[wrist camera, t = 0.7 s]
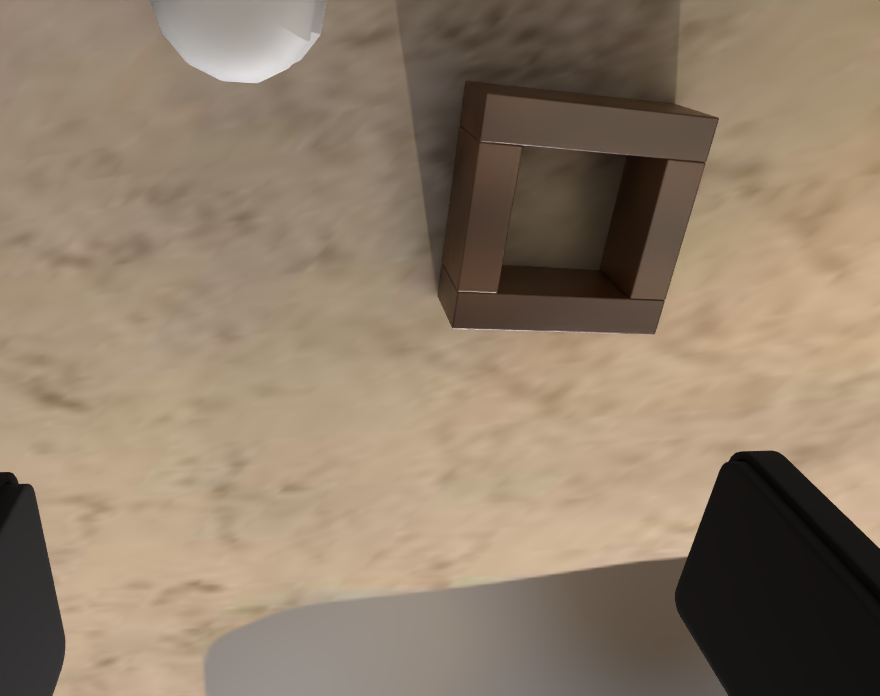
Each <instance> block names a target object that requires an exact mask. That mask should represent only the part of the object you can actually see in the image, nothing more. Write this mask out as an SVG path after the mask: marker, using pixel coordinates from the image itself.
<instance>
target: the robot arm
mask: <svg viewBox="0 0 880 696" xmlns="http://www.w3.org/2000/svg"><path fill="white" fill-rule="evenodd" d="M675 602H676V607H677V610H678V613H679V615H680V617H681V618H682V620H683V622H684V623H685V625H686V627H687V628H688V630H689V632H690V633H691V635H692V636H693V638H694V640H695V641H696V643H697V645H698V646H699V648H700V650H701V651H702V653H703V654H704V656H705V658H706V659H707V661H708V663H709V664H710V666H711V667H712V669H713V671H714V673H715V674H716V676H717V678H718V679H719V681H720V682H721V684H722V686H723V687H724V689H725V691H726V692H727V694H728V696H880V548H878V547H877V546H876V545H875V544H874V543H873V542H872V541H871V540H870V539H869V538H868V537H867V536H866V535H865V534H864V533H863V532H862V531H861V530H860V529H859V528H858V527H857V526H856V525H855V524H854V523H853V522H852V521H851V520H850V519H849V518H848V517H846V516H845V515H844V514H843V513H842V512H841V511H840V510H839V509H838V508H837V507H836V506H835V505H834V504H833V503H832V502H831V501H830V500H829V499H828V498H827V497H826V496H825V495H824V494H823V493H822V492H821V491H820V490H819V489H818V488H817V487H815V486H814V485H813V484H812V483H811V482H810V481H809V480H808V479H807V478H806V477H805V476H804V475H803V474H802V473H801V472H800V471H799V470H798V469H797V468H796V467H795V466H794V465H793V464H792V463H791V462H790V461H789V460H788V459H787V458H786V457H785V456H783V455H782V454H780V453H779V452H776V451H743V452H737V453H735V454H734V455H733V456H732V457H731V458H730V460H729V462H726V463H725V464H724V465H722V467H721V469H720V471H719V474H718V477H717V479H716V482H715V485H714V487H713V490H712V493H711V496H710V498H709V501H708V504H707V506H706V509H705V512H704V515H703V517H702V520H701V523H700V525H699V528H698V531H697V533H696V536H695V539H694V542H693V544H692V547H691V550H690V552H689V555H688V558H687V561H686V563H685V566H684V569H683V571H682V574H681V577H680V579H679V582H678V585H677V588H676V592H675ZM64 655H65V634H64V629H63V625H62V620H61V615H60V610H59V605H58V601H57V596H56V591H55V586H54V582H53V577H52V572H51V567H50V563H49V558H48V553H47V548H46V543H45V539H44V534H43V529H42V524H41V520H40V515H39V510H38V505H37V501H36V496H35V492H34V489H33V487H32V486H31V485H30V484H19V483H18V480H17V478H16V477H15V475H14V474H13V473H10V472H0V696H53V693H54V690H55V687H56V684H57V681H58V678H59V675H60V672H61V669H62V665H63V661H64Z"/></svg>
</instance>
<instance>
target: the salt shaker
mask: <svg viewBox="0 0 880 696" xmlns="http://www.w3.org/2000/svg"><path fill="white" fill-rule="evenodd" d="M151 3H152V6H153V9H154V12H155V15H156V18H157V21H158V24H159V27H160V30H161V32H162V33H163V34H164V36H165V37H166V38H167V39H168V40H169V42H170V43H171V44H172V45H173V46H174V48H175V49H176V50H177V51H178V53H179V54H180V55H181V56H182V57H183V59H184V60H185V61H186V62H187V63H188V64H190V65H191V66H193V67H195V68H197V69H199V70H201V71H203V72H205V73H207V74H209V75H211V76H213V77H215V78H217V79H219V80H221V81H230V82H246V83H259V82H261V81H263V80H265V79H267V78H269V77H272V76H274V75H276V74H278V73H280V72H282V71H284V70H286V69H288V68H289V67H290V66H291V64H293V63H296V62H298V61H300V60H301V59H302V58H303V57H304V55H305V54H306V53H307V51H308V50H309V49H310V48H311V46H312V45H313V44H314V42H315V41H316V40H317V39H318V37H319V36H320V35H321V31H322V26H323V20H324V15H325V10H326V5H327V0H151Z"/></svg>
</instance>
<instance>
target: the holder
mask: <svg viewBox="0 0 880 696" xmlns="http://www.w3.org/2000/svg"><path fill="white" fill-rule="evenodd" d="M718 120H719V118H717V117H714V116H711V115H708V114H705V113H702V112H699V111H695V110H692V109H689V108H686V107H683V106H680V105H677V104H669V103H660V102H651V101H642V100H633V99H624V98H615V97H606V96H597V95H588V94H579V93H570V92H561V91H553V90H544V89H535V88H526V87H517V86H508V85H499V84H490V83H481V82H472V81H466V82H465V89H464V97H463V105H462V112H461V120H460V125H461V126H460V128H459V136H458V143H457V151H456V159H455V166H454V174H453V182H452V189H451V197H450V205H449V212H448V220H447V228H446V235H445V243H444V251H443V258H442V262H443V263H442V267H441V274H440V282H439V290H438V298H439V300H440V302H441V305H442V307H443V309H444V311H445V313H446V316H447V318H448V320H449V322H450V324H451V326H452V328H453V329H475V330H511V331H547V332H583V333H619V334H655V332H656V329H657V325H658V322H659V319H660V315H661V312H662V308H663V305H664V300H665V299H666V295H667V292H668V289H669V285H670V282H671V278H672V275H673V272H674V268H675V265H676V262H677V258H678V255H679V251H680V248H681V245H682V241H683V238H684V235H685V231H686V228H687V224H688V221H689V218H690V214H691V211H692V208H693V204H694V201H695V198H696V194H697V191H698V187H699V184H700V181H701V177H702V174H703V171H704V167H705V162H706V161H707V157H708V154H709V151H710V147H711V144H712V141H713V137H714V134H715V130H716V127H717V124H718ZM522 145H523V146H534V147H545V148H556V149H567V150H578V151H589V152H599V153H610V154H621V155H628V156H627V160H626V164H625V168H624V173H623V177H622V181H621V185H620V189H619V193H618V197H617V201H616V205H615V210H614V214H613V218H612V222H611V226H610V230H609V234H608V238H607V242H606V246H605V251H604V255H603V259H602V263H601V267H600V270H581V269H561V268H541V267H521V266H502V263H503V257H504V251H505V245H506V240H507V234H508V228H509V222H510V217H511V211H512V205H513V199H514V194H515V188H516V182H517V176H518V170H519V165H520V159H521V153H522Z"/></svg>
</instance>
